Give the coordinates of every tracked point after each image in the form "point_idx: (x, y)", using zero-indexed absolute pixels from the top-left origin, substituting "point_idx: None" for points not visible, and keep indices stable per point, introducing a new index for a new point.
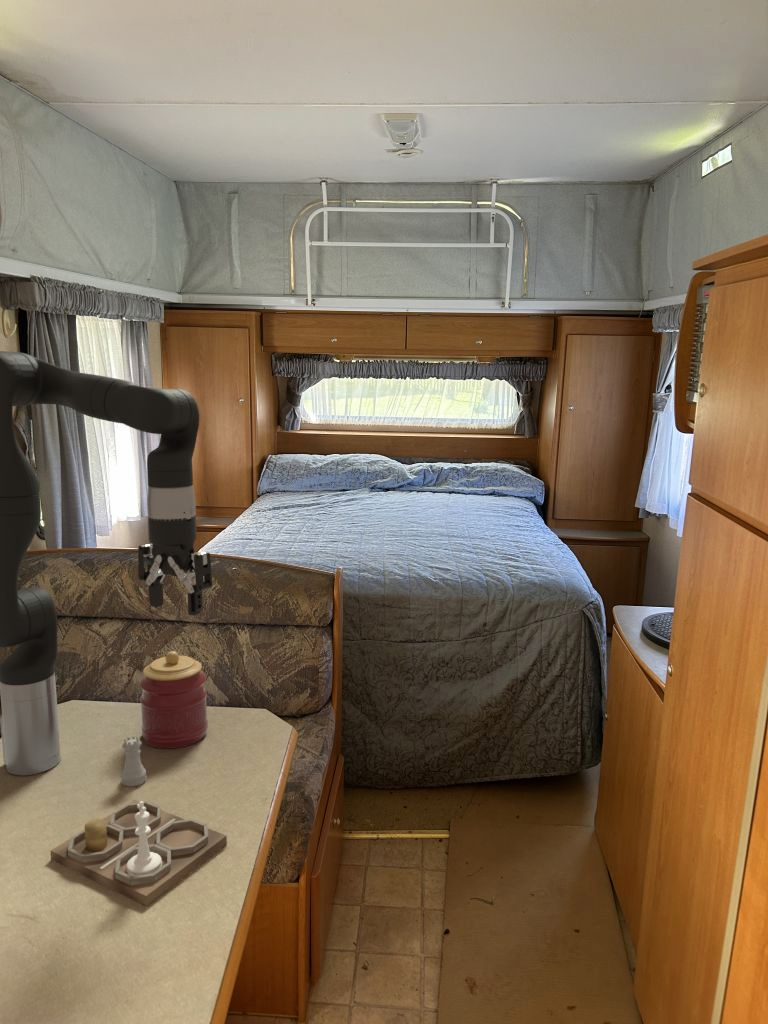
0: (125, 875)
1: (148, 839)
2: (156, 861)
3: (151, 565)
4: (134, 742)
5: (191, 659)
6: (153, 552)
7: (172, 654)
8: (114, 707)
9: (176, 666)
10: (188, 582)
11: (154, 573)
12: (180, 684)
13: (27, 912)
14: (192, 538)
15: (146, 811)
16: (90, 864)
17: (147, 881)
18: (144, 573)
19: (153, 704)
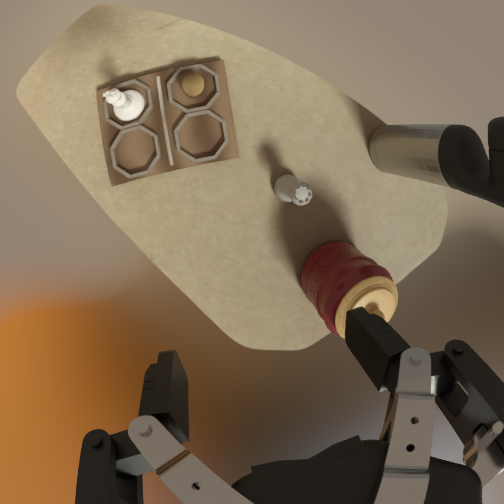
0: (122, 83)
1: (162, 128)
2: (117, 112)
3: (455, 412)
4: (294, 193)
5: None
6: (464, 485)
7: None
8: (412, 261)
9: None
10: (154, 457)
11: (399, 409)
12: (337, 299)
13: (171, 27)
14: None
15: (112, 101)
16: (171, 73)
17: None
18: (455, 370)
19: (349, 262)
